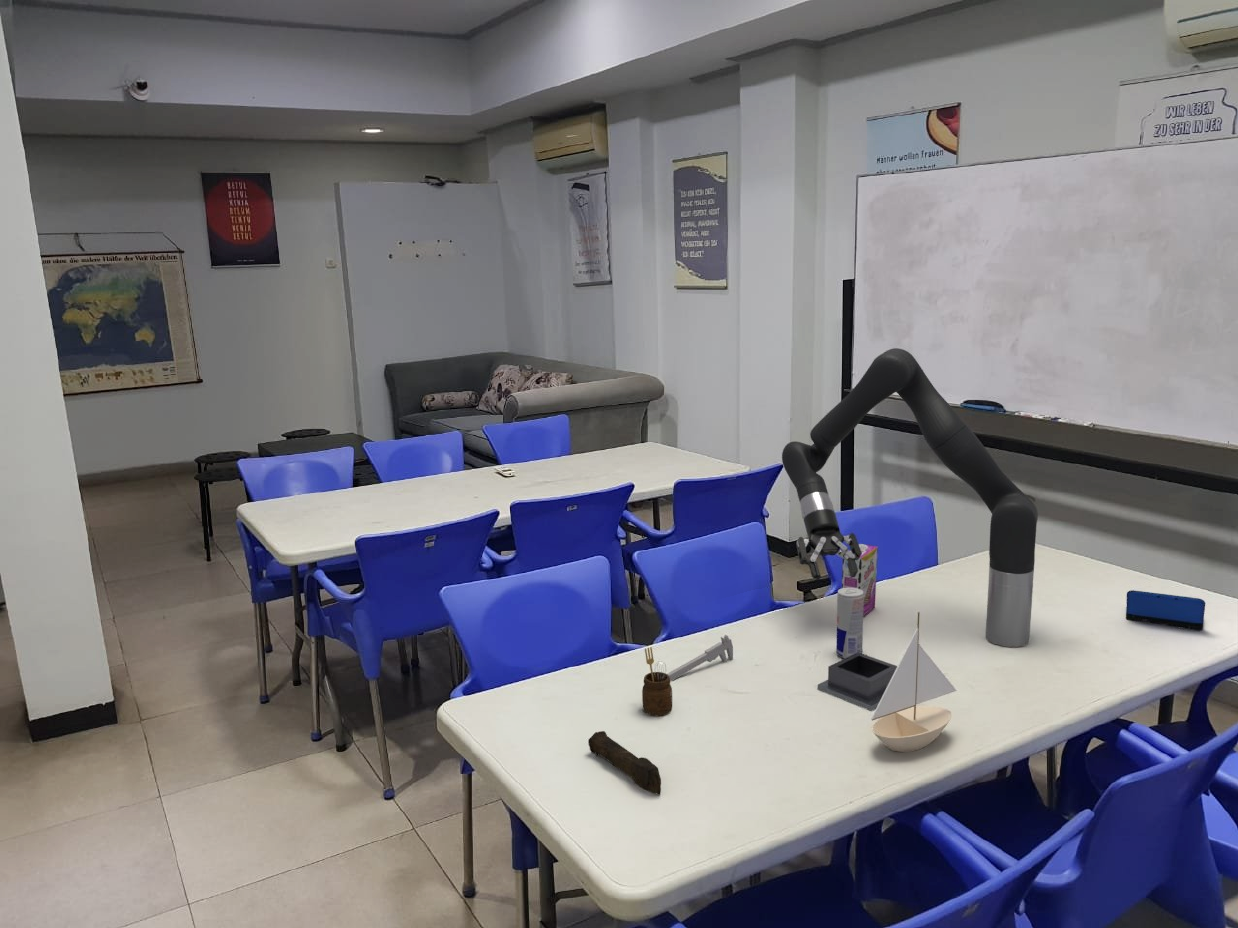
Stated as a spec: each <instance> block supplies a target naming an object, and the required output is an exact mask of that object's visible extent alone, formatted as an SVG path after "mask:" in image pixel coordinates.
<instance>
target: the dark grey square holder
mask: <svg viewBox="0 0 1238 928" xmlns="http://www.w3.org/2000/svg"><path fill="white" fill-rule="evenodd" d="M897 666H898V665H896V664H892V663H889V662H888V661H887V662H886V661H885V660H880V659H878V658H875V657H874V656H873V657H872V656H870V655H867V654H863V653H862V654H861V653H858V652H857V653H855V654H853V655H851V656H849V657H847V658H843V659H842V660H839V661H837V662H834V663H832V664H831V665H829V666H828V669H827V677H828V678H827V679H826V680H824V681H821V683H818V684H817V690H818V691H822V693H823V692H824V693H826V694H828V695H831V696H834V697H836V698H837V699H838V698H839V699H841V700H844V701H846V702H849V703H851V704H853V705H857V706H859V707H861V708H864V709H866V710H869V711H871V712H872V711H873V710H874V711H875V710H876V708H877V706H878V704H879V702H880V700H881V698H882V696H883V694H884V692H885V690H886V688H887V686H888V684H889V682H890V680H891V678H892V676H893V674H894V672H895V670H896V668H897Z"/></svg>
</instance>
